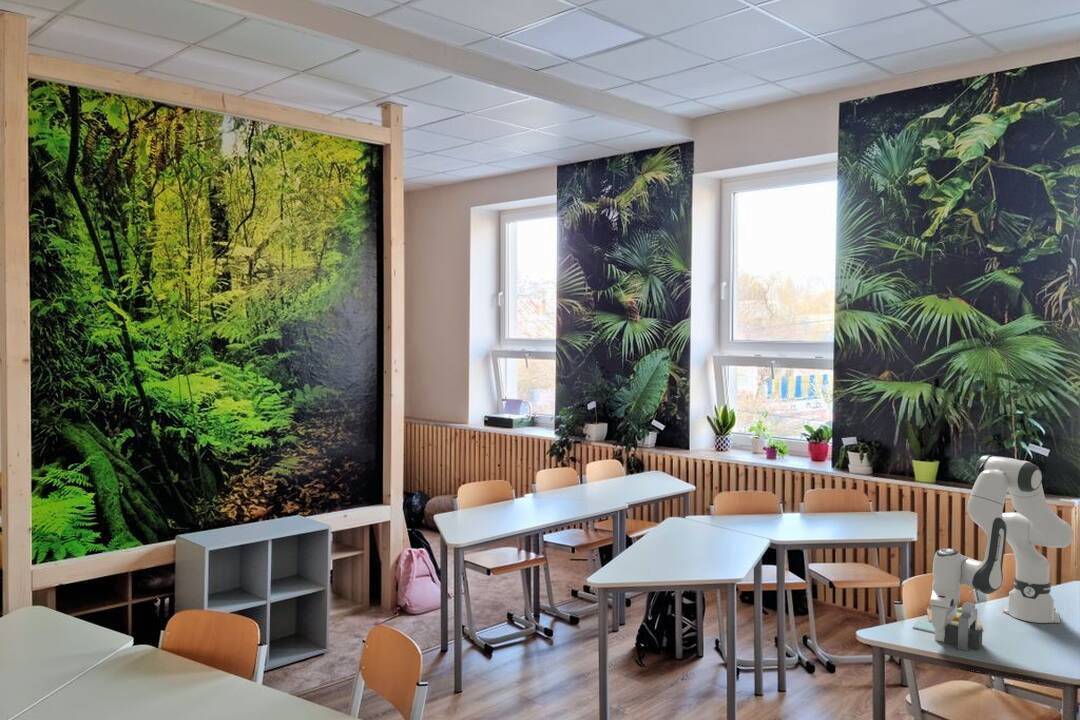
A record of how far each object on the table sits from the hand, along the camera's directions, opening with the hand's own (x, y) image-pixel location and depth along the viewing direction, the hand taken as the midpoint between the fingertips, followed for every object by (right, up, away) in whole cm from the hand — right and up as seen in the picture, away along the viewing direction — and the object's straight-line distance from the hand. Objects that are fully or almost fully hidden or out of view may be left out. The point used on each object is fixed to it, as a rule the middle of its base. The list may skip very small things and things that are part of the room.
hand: (944, 634), depth 297 cm
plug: (+3, -2, -3) cm, 5 cm away
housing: (+6, -2, -4) cm, 7 cm away
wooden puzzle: (+14, -2, +21) cm, 25 cm away
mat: (+4, -1, +9) cm, 10 cm away
